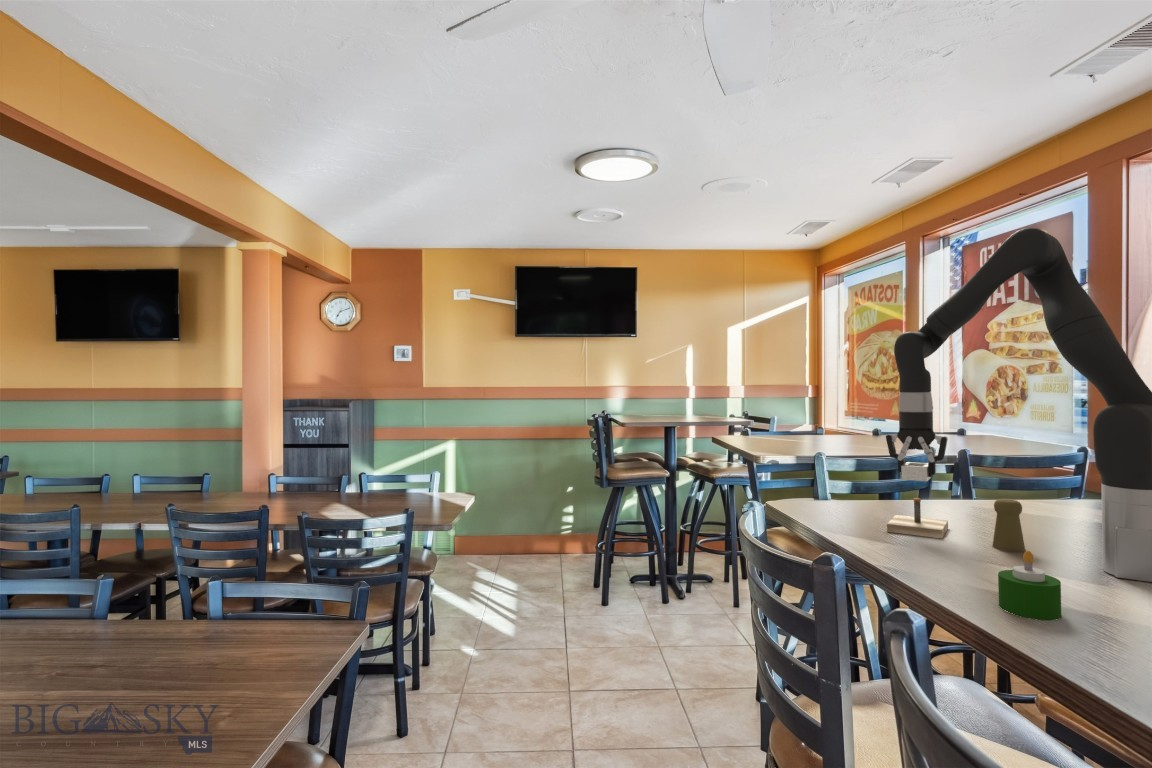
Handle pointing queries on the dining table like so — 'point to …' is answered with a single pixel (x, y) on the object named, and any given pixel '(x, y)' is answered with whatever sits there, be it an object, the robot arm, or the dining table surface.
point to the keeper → (917, 524)
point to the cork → (1008, 526)
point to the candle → (1029, 591)
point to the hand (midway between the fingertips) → (916, 475)
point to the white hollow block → (915, 471)
